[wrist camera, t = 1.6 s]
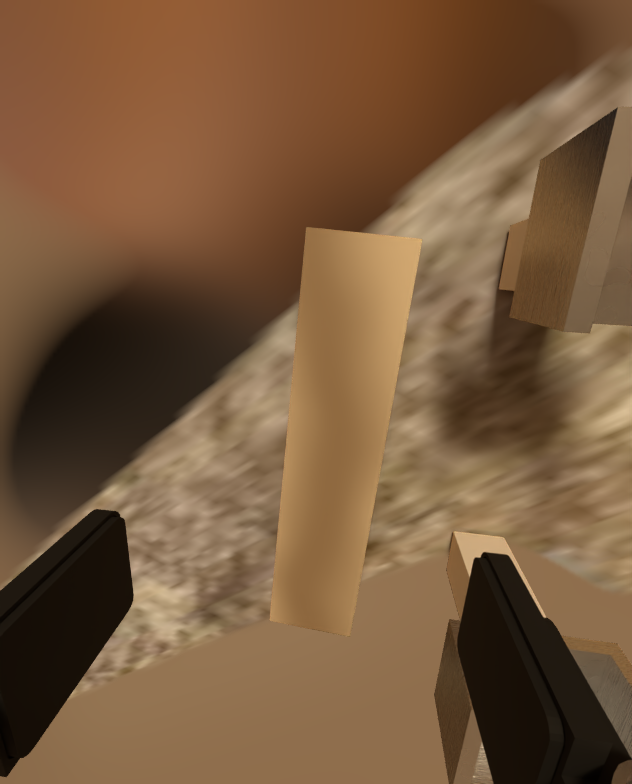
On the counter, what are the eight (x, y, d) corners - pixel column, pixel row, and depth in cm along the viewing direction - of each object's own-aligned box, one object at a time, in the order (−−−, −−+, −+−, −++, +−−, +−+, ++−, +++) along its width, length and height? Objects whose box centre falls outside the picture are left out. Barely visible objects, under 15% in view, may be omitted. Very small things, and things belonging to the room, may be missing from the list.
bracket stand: (624, 210, 17) (1012, 107, 7) (523, 590, 24) (644, 832, 13) (472, 206, 18) (618, 106, 8) (414, 576, 25) (450, 794, 14)
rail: (402, 253, 19) (422, 239, 13) (354, 540, 25) (349, 636, 18) (326, 244, 20) (306, 227, 13) (295, 530, 25) (269, 620, 18)
